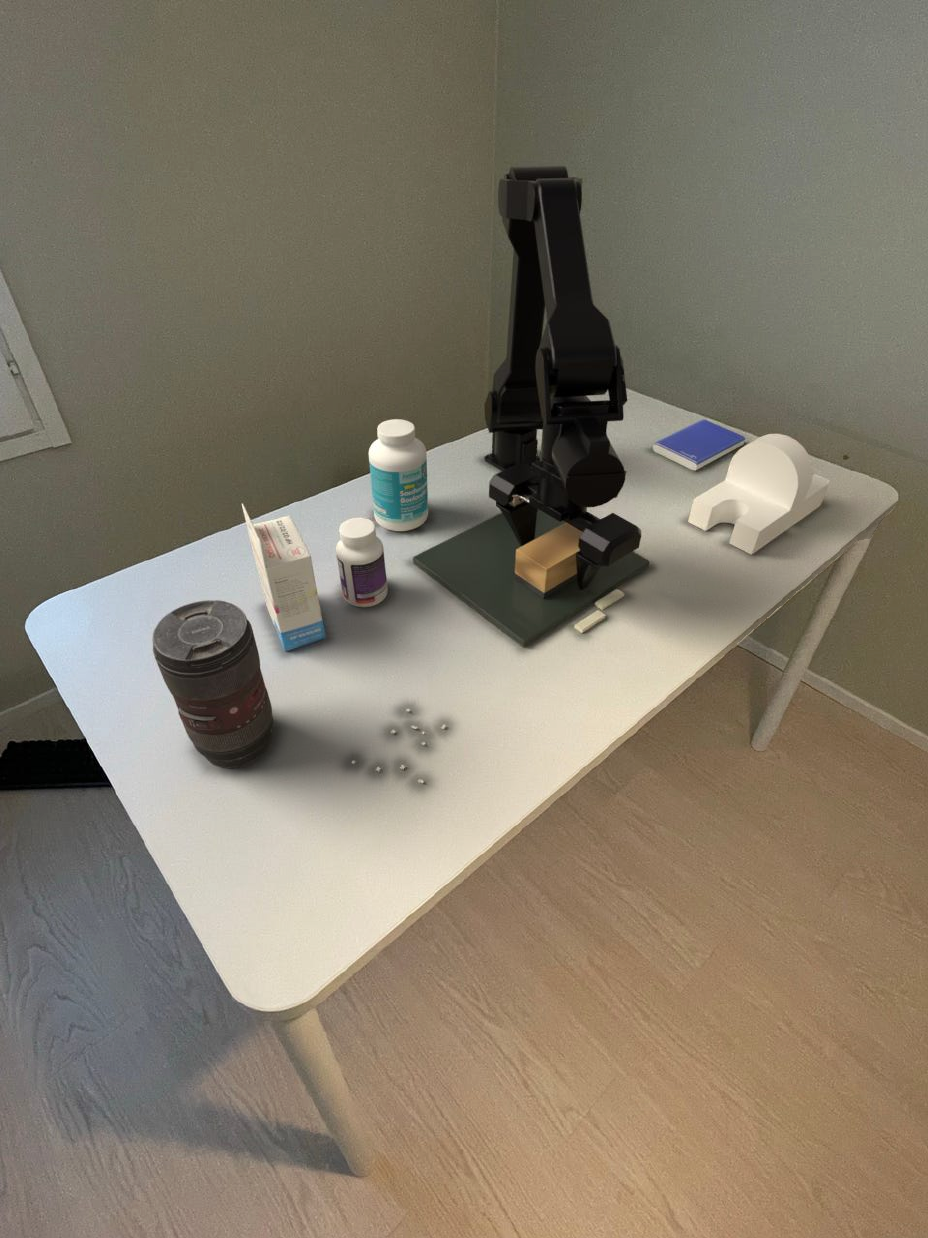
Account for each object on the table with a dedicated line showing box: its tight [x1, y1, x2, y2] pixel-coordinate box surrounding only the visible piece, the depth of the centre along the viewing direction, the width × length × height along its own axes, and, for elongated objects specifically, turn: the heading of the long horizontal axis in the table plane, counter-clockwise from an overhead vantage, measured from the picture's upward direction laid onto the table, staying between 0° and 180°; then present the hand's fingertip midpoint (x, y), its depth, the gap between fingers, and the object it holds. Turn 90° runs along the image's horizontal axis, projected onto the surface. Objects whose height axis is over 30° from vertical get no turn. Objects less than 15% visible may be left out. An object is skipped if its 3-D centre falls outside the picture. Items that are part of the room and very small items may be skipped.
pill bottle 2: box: [368, 418, 429, 532], centre depth 92 cm, size 8×7×14 cm
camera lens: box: [152, 599, 274, 769], centre depth 64 cm, size 8×8×15 cm
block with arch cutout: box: [687, 433, 831, 555], centre depth 94 cm, size 18×10×11 cm, turn 131°
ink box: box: [241, 503, 327, 652], centre depth 76 cm, size 8×5×15 cm, turn 26°
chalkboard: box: [412, 509, 651, 648], centre depth 89 cm, size 20×22×1 cm
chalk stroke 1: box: [574, 609, 606, 634], centre depth 81 cm, size 4×1×1 cm, turn 131°
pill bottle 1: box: [335, 517, 389, 608], centre depth 82 cm, size 5×5×10 cm
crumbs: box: [351, 708, 446, 784], centre depth 68 cm, size 8×7×1 cm
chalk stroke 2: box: [594, 588, 625, 611], centre depth 84 cm, size 4×1×1 cm, turn 131°
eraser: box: [515, 523, 583, 599], centre depth 85 cm, size 5×9×4 cm, turn 131°
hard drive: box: [652, 419, 746, 471], centre depth 110 cm, size 2×8×12 cm
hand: (554, 569), depth 86 cm, fingers open, 9 cm apart
